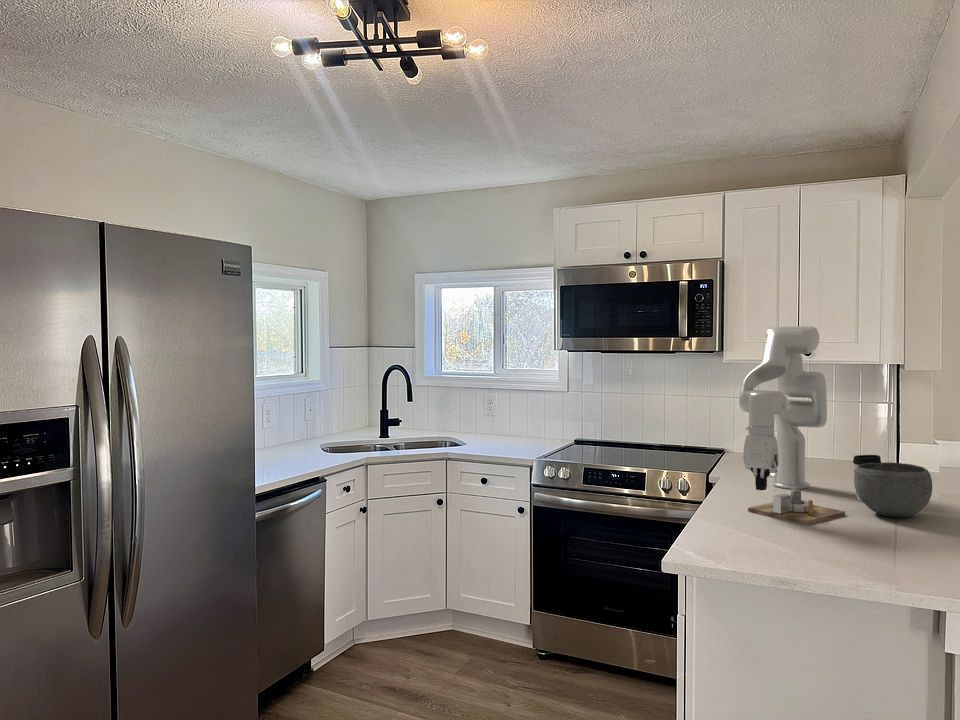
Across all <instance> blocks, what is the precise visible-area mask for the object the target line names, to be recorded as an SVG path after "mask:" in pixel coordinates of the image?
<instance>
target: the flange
mask: <svg viewBox="0 0 960 720" xmlns="http://www.w3.org/2000/svg"><path fill="white" fill-rule="evenodd" d="M772 497H773V498H772V499H773V500H772V502H773V512H775V513H780V514H782V513H786V512H790V511H791V512H792V511H794V512H808V500H806V499H801V504H792V503H791V494H787V493H781V494H776V495H775V494H774V495H773V496H772Z"/></svg>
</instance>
